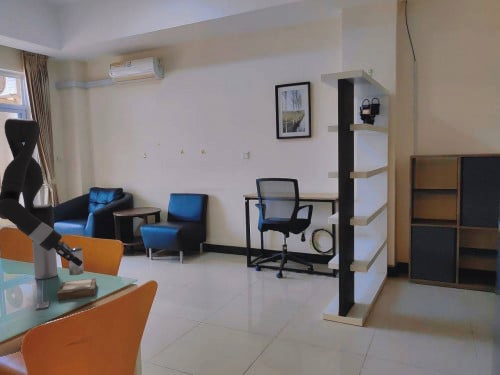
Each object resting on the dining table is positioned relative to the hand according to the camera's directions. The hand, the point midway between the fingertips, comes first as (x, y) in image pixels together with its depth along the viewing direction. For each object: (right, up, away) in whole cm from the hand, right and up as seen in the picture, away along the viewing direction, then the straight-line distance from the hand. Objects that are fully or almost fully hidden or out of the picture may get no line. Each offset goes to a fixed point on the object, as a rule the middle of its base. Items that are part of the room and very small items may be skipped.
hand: (81, 262), depth 152 cm
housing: (-2, -4, 0) cm, 5 cm away
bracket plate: (-9, -14, -12) cm, 21 cm away
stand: (-1, -12, +1) cm, 12 cm away
